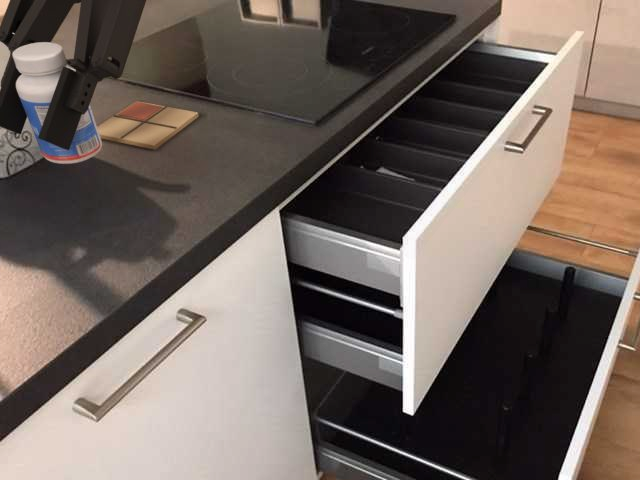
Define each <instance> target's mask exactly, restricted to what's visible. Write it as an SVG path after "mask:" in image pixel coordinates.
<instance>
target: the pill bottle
mask: <svg viewBox="0 0 640 480" xmlns="http://www.w3.org/2000/svg"><path fill="white" fill-rule="evenodd" d="M12 55H13V58H14V61H15V64H16V68H17V69H18V71H19V72H20V73H22V75H21V76H19V78H18V79H17V81H16V89H17V92H18V95H19V97H20V100H21V102H22V105H23V107H24V110H25V112H26V115H27V120H28V123H29V125H30V127H31V130H32V132H33V135H34V138H35V140H36V142H37V145H38V147H39V150H40V152H41V154H42V157H43V158H44V159H45V160H47V161H49V162H51V163H54V164H59V165H61V164H62V165H69V164H78V163H82V162H85V161H87V160H89V159H91V158H93V157H94V156H96V155H97V154H99V152H100V151H101V150H102V148H103V142H102V139H101V138H100V134H99V131H98V128H97V127H98V125H97V122H96V120H95V117H94V114H93V111H92V107H91V104H90V105H89V108H88V110H87V111H86V113H85V114H82V116H81V118H80V121H79V124H78V127H77V130H76V132H75V135H74V138H73V141H72V144H71V146H70V149H69V150H66V149H63V148H60V147H58V146H56V145H53V144H51V143H48V142H46V141H44V140H41V139H39V138H38V136H39V133H40V130H41V128H42V125H43V122H44V119H45V116H46V114H47V111H48V108H49V105H50V103H51V100H52V97H53V94H54V91H55V89H56V86H57V83H58V80H59V77H60V75H61V72H62V69H63V67H67V68H70V69H72V70H74V71H75V72H76V69H74V68H72V67H71V66H68V64H67V63H66V59H67V57H66V54H65V51H64V49H63V46H62V45H61V44H59V43H56V42H52V41H51V42H39V43H31V44H28V45H24V46H22V47H19V48H17V49H16V50H15V51H14V52H13V53H12Z"/></svg>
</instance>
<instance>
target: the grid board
mask: <svg viewBox="0 0 640 480" xmlns="http://www.w3.org/2000/svg"><path fill="white" fill-rule="evenodd" d="M199 115H200V114H199V112H197V111H192V110H187V109H182V108H181V109H180V108H175V107H172V106H171V107H170V106H167V105H160V104H155V103H150V102H143V101H139V100H136V101H135V102H133V103H131V104H130V105H129V106H127V107H125V108H124V109H121V111H119V112H117V113H116V114H114V115H112V116H111V117H110V118H109V119H107V120H105V121H104V122H102V123H101V124H99V125H97V128H98V131H99V134H100V138H101V140H107V141H111V142H116V143H121V144H126V145H131V146H136V147H140V148H146V149H150V150H157V149H158V148H159V147H161V146H162V145H163V144H165V143H166V142H167V141H168V140H170V139H171V138H172V137H174V136H175V135H176V134H178V133H179V132H180V131H182V130H183V129H184V128H186V127H187V126H188V125H189V124H191V123H192V122H194V121H195V120H197V118H198V117H200V116H199Z"/></svg>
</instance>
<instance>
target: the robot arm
mask: <svg viewBox="0 0 640 480" xmlns="http://www.w3.org/2000/svg"><path fill="white" fill-rule="evenodd" d="M146 3H147V0H9V2H8V5H7V7H6V9H5V12H4V14H3V17H2V20H1V22H0V42H1V43H2V44H4V45H5V47H7V48H8V51H9V54H10V55H9V57H8V60H7V63H6V66H5V69H4V72H3V75H2V77H1V79H0V128H3V129H5V130H7V131H10V132H12V133H15V134H17V135H22V133H23V130H24V127H25V125H26V121H27V120H28V117H27V115H26V112H25V110H24V107H23V105H22V102H21V100H20V97H19V95H18V92H17V89H16V81H17V79H18V78H19V76H21V75H22V73H20V72H19V71H18V69H17V68H16V64H15V61H14V58H13V55H12V53H13V52H14V51H15V50H16V49H17V48H19V47H22V46H24V45H28V44H32V43H39V42H51V43H52V41H53V39H54V38H55V37H56V34H57V33H58V31H59V30H60V28H61V26H62V24H63V23H64V21H65V20H66V18H67V16H68V15H69V13H70V11H71V10H72V8H73V7H74V5H75V4H80V7H79V15H78V24H77V31H76V38H75V44H74V53H73V58H66V63H67V67H70V68H72V69H74V70H75V71H76V72H75V71H74V70H72V69H70V68H67V67H63V69H62V72H61V75H60V77H59V80H58V83H57V86H56V89H55V91H54V94H53V97H52V100H51V103H50V105H49V108H48V111H47V114H46V116H45V119H44V122H43V125H42V128H41V130H40V133H39V136H38V138H39V139H41V140H44V141H46V142H48V143H51V144H53V145H56V146H58V147H60V148H63V149H66V150H69V149H70V146H71V144H72V141H73V138H74V135H75V132H76V130H77V127H78V124H79V121H80V118H81V116H82V114H85V113H86V111H87V110H88V108H89V105H90V106H91V102H92V99H93V96H94V93H95V91H96V88H97V85H98V83H99V82H102V81H103V80H104V79H105V78H112V79H114V80H118V79H120V78H121V77H122V75H123V73H124V70H125V67H126V64H127V61H128V57H129V55H130V52H131V49H132V47H133V43H134V40H135V36H136V33H137V30H138V27H139V25H140V22H141V18H142V15H143V12H144V10H145V9H144V8H145V6H146ZM109 58H111V59H109Z"/></svg>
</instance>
